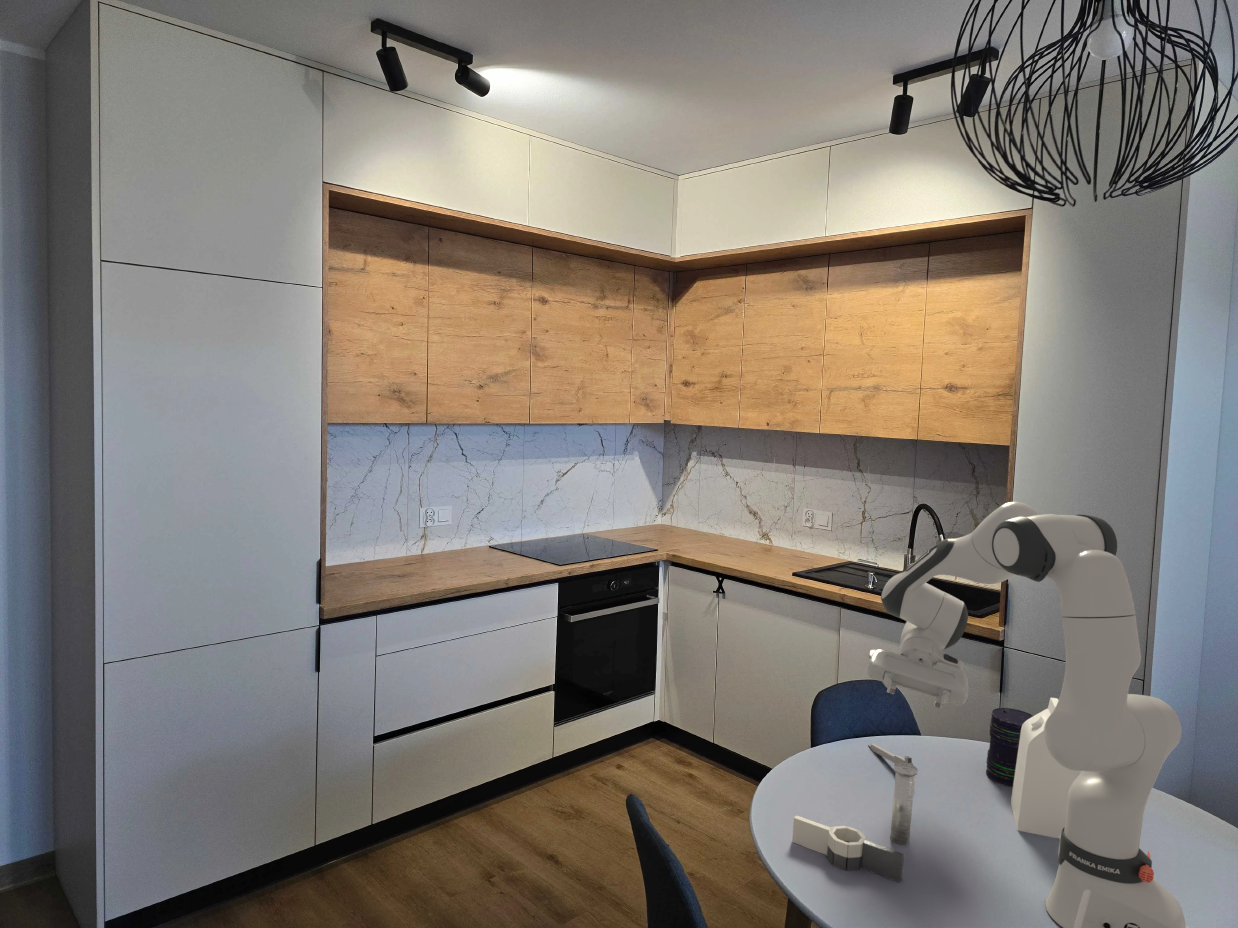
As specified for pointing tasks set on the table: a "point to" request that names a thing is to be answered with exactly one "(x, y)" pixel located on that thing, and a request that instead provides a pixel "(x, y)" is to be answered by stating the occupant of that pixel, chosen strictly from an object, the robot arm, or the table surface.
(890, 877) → the hinge leaf
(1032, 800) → the milk
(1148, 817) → the table surface
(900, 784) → the hinge pin
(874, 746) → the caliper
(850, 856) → the hinge leaf
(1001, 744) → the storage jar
